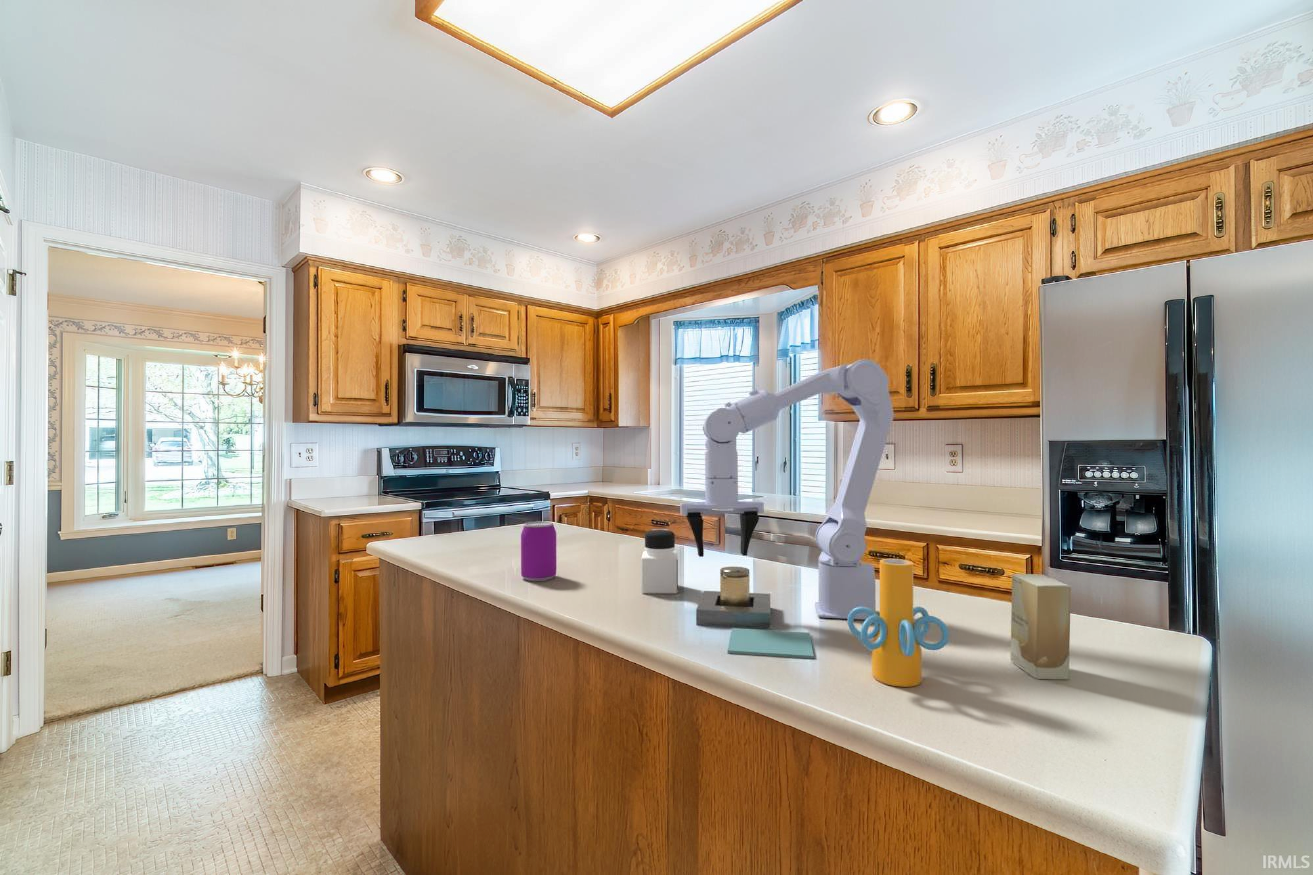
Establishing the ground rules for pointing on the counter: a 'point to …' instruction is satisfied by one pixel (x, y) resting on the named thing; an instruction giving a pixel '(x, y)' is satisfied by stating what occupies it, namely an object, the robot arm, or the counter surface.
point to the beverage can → (538, 551)
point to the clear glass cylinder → (734, 587)
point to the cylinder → (897, 628)
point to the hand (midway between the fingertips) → (722, 555)
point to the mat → (770, 643)
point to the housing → (734, 611)
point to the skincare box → (1040, 626)
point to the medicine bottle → (659, 563)
